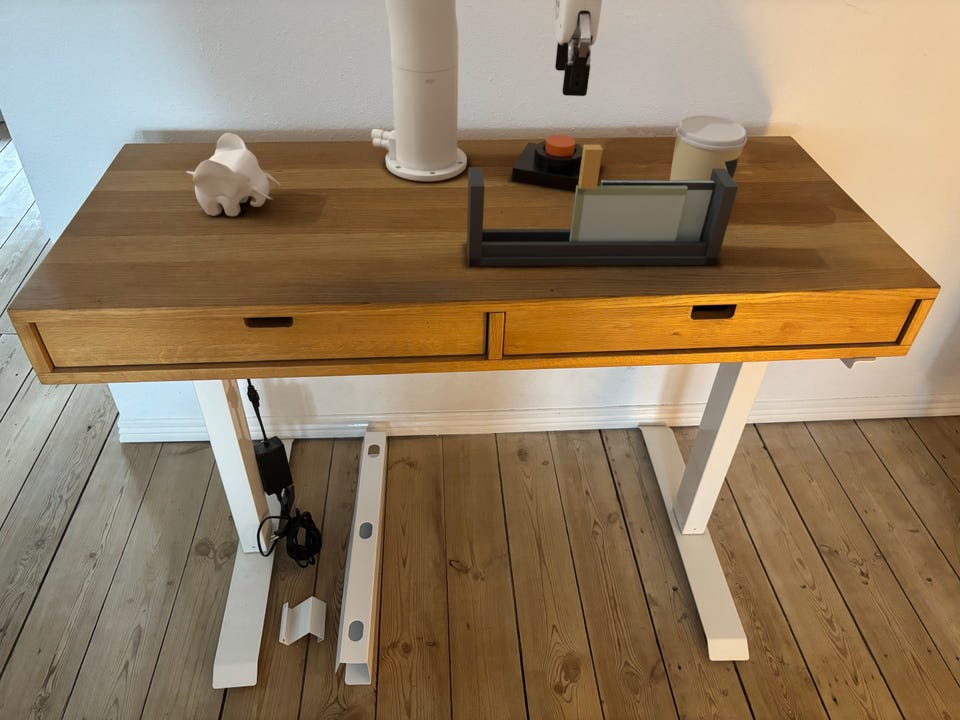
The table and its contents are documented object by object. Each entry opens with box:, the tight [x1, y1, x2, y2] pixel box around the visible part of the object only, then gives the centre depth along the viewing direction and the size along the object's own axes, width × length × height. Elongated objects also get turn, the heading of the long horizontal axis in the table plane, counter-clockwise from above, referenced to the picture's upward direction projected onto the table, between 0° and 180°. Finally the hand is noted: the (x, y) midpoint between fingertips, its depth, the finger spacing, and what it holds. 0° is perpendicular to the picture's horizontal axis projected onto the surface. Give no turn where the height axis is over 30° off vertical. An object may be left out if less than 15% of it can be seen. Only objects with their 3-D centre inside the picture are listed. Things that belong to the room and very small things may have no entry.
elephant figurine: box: [186, 132, 282, 217], centre depth 99 cm, size 10×12×9 cm
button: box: [545, 134, 576, 157], centre depth 110 cm, size 4×4×2 cm
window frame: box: [466, 167, 739, 267], centre depth 92 cm, size 32×5×11 cm, turn 94°
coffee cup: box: [669, 114, 748, 181], centre depth 102 cm, size 9×9×12 cm
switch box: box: [511, 139, 604, 193], centre depth 112 cm, size 12×10×4 cm
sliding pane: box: [569, 144, 688, 242], centre depth 90 cm, size 14×1×14 cm, turn 94°
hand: (570, 82), depth 101 cm, fingers open, 9 cm apart
